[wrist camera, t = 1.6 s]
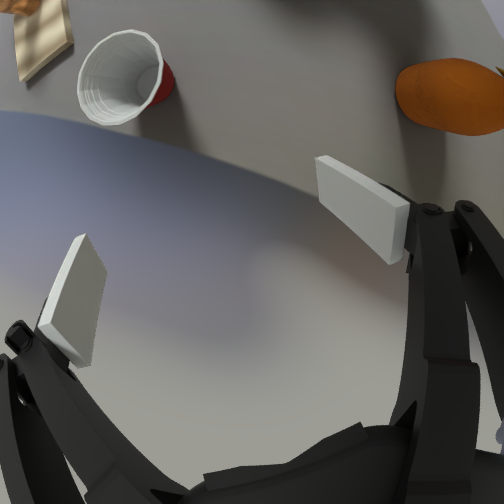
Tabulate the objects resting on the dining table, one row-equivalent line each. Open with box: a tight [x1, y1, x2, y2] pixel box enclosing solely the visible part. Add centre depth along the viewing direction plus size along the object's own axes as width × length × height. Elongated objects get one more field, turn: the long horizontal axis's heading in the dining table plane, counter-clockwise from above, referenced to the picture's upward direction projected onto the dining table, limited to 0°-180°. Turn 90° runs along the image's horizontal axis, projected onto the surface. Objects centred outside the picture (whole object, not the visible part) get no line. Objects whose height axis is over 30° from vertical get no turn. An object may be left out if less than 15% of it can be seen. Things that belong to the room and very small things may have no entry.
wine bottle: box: [395, 58, 504, 136], centre depth 17 cm, size 10×10×30 cm
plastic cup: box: [77, 29, 175, 126], centre depth 26 cm, size 11×11×12 cm
